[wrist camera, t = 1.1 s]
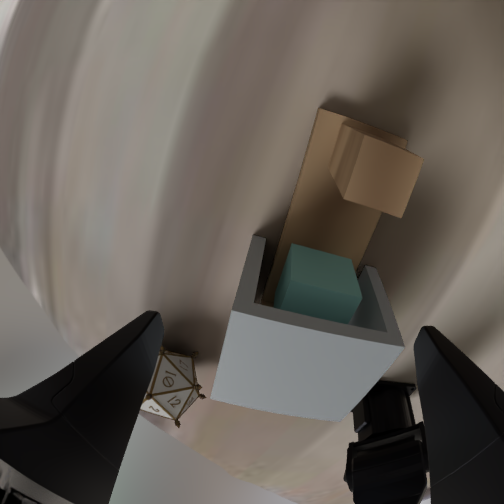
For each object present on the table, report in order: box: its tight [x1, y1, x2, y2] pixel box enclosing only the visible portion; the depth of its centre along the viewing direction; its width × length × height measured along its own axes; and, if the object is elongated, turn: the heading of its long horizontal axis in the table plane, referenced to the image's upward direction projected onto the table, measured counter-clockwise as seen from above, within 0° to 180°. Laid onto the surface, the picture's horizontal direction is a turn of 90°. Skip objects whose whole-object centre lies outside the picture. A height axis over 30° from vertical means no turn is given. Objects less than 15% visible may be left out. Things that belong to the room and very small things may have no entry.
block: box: [273, 243, 362, 325], centre depth 20 cm, size 4×4×4 cm
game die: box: [140, 346, 206, 428], centre depth 27 cm, size 9×8×10 cm
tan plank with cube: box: [261, 108, 424, 307], centre depth 18 cm, size 6×16×7 cm, turn 167°
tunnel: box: [210, 235, 405, 422], centre depth 20 cm, size 10×9×8 cm
